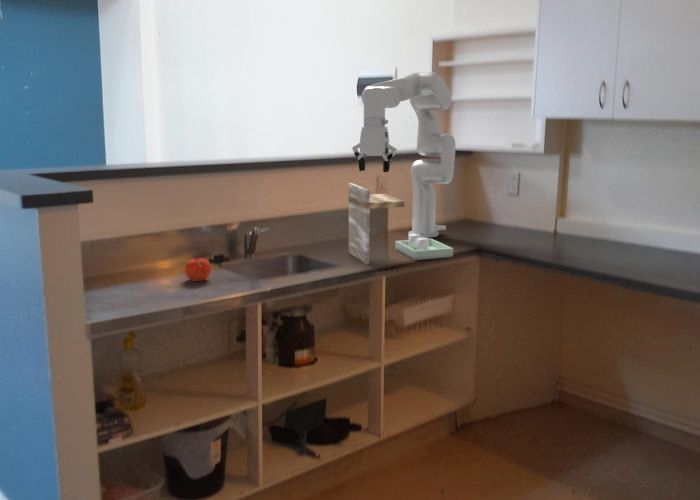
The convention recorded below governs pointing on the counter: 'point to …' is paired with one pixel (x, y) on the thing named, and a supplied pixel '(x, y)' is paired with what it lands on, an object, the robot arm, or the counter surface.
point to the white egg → (422, 244)
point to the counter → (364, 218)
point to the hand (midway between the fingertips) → (374, 171)
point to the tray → (434, 250)
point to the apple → (197, 269)
